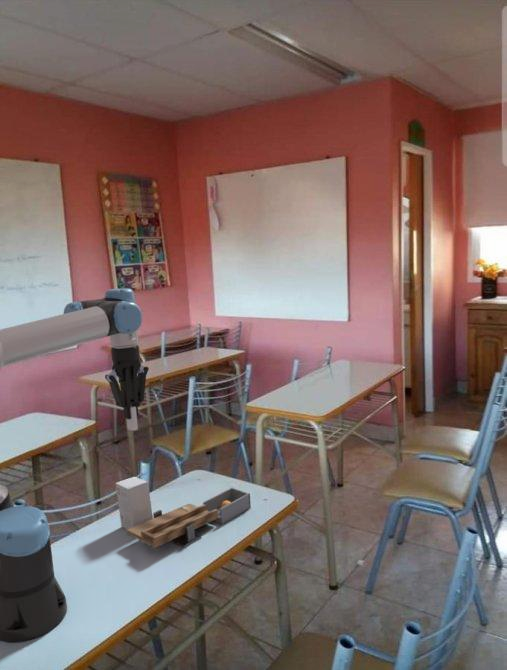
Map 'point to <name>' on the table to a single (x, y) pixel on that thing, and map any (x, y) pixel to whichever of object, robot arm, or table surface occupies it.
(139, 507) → the small box
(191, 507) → the seesaw
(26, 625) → the robot arm
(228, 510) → the tray
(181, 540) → the pivot bracket
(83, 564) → the table surface
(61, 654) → the table surface
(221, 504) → the ball
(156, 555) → the table surface
